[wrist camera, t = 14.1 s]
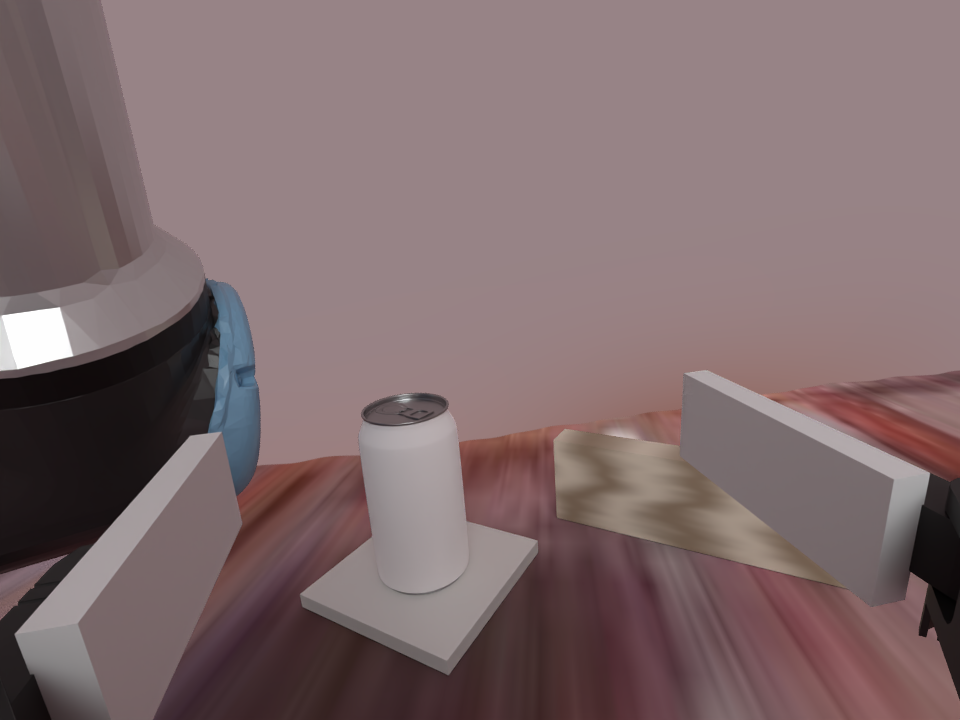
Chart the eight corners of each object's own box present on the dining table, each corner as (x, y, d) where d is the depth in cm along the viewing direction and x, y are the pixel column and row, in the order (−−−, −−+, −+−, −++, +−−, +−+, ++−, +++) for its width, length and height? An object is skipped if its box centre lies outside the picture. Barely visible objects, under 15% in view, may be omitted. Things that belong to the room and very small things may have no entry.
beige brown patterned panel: (556, 517, 42) (553, 440, 40) (567, 503, 44) (564, 428, 42) (872, 594, 32) (887, 494, 30) (868, 571, 34) (881, 475, 32)
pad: (302, 606, 34) (299, 594, 34) (412, 516, 44) (410, 505, 44) (448, 675, 28) (446, 660, 28) (538, 552, 38) (537, 540, 38)
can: (420, 529, 40) (403, 386, 37) (487, 555, 37) (474, 398, 33) (358, 577, 35) (332, 416, 32) (429, 612, 32) (407, 434, 28)
